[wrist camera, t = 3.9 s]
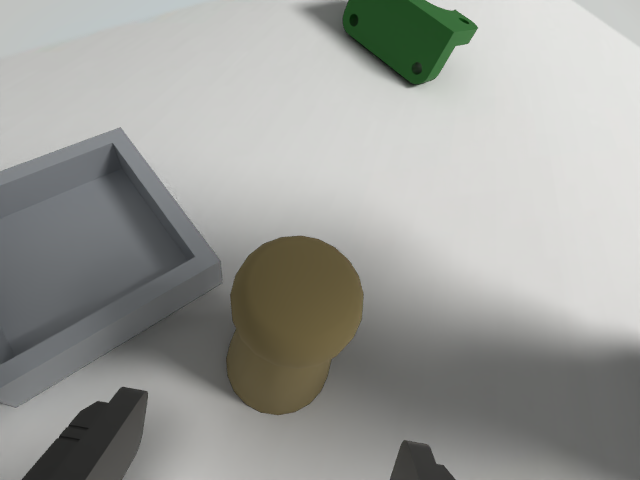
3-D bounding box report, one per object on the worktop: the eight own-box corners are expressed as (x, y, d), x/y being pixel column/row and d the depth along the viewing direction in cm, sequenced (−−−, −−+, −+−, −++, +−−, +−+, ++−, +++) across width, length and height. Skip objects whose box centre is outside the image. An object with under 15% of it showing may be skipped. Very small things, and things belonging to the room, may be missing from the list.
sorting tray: (130, 158, 29) (120, 127, 27) (222, 282, 26) (220, 260, 23) (-65, 236, 24) (-100, 208, 22) (16, 407, 21) (-16, 397, 18)
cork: (230, 309, 25) (224, 206, 16) (327, 312, 26) (376, 216, 17) (221, 415, 22) (207, 366, 13) (331, 414, 23) (394, 368, 14)
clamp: (418, 99, 45) (491, 45, 38) (388, 109, 41) (464, 50, 34) (365, 3, 45) (429, -69, 38) (330, 4, 41) (395, -76, 34)
